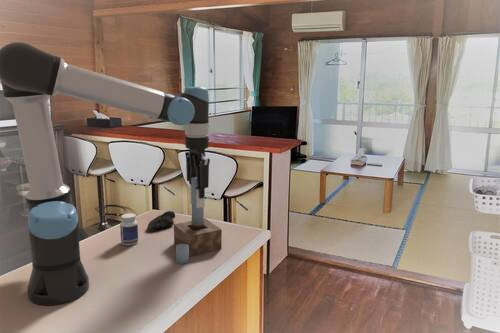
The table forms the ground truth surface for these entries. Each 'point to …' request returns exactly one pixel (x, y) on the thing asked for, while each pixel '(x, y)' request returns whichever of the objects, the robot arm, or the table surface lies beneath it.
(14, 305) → the table surface
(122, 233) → the pill bottle
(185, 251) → the grey rounded cylinder
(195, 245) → the sleeve block
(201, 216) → the long dowel
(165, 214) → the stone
